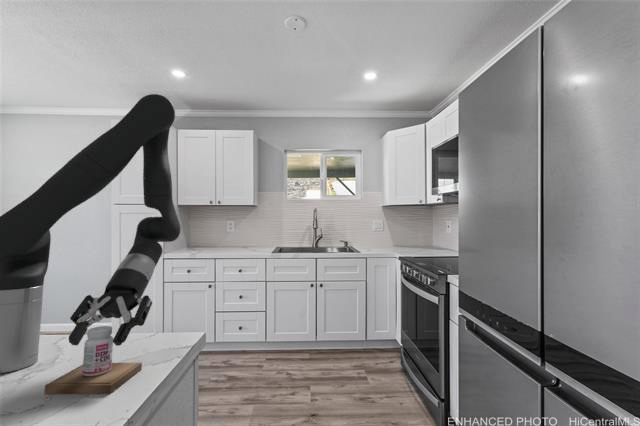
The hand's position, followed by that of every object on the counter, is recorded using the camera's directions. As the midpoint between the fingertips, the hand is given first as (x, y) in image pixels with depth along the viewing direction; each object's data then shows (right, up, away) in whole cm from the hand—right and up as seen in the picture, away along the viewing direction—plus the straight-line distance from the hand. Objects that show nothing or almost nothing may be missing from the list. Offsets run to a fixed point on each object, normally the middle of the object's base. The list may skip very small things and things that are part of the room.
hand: (94, 343), depth 60 cm
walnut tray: (0, -8, +1) cm, 8 cm away
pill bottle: (0, -6, +1) cm, 6 cm away
